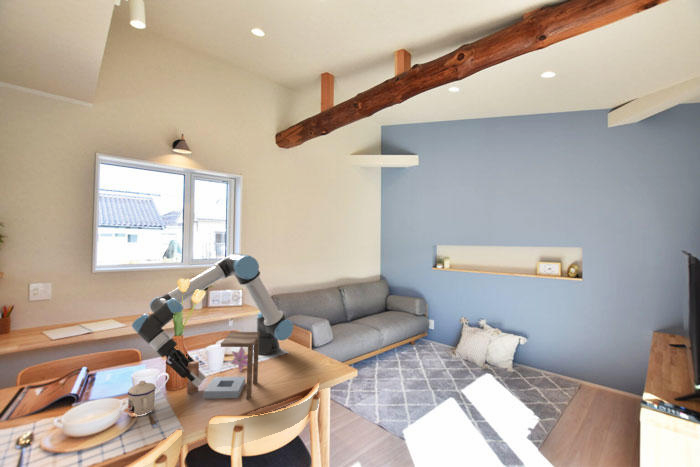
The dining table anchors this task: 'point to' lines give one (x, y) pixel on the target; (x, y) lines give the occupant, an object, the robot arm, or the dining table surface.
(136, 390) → the teacup with lid
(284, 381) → the dining table surface
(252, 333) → the brown frame
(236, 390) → the socket
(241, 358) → the lily
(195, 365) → the peg
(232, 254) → the robot arm
